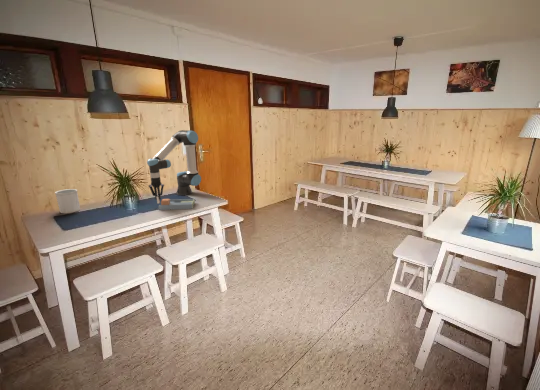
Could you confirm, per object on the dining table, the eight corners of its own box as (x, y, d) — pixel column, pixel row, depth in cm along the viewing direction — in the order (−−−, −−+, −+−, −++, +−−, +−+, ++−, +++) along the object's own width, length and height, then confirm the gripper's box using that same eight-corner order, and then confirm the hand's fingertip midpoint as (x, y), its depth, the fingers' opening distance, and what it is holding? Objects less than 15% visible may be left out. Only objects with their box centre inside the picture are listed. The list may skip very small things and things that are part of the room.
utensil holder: (71, 207, 230) (67, 188, 225) (85, 208, 227) (81, 189, 222) (55, 213, 216) (50, 192, 211) (69, 214, 213) (65, 193, 208)
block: (163, 203, 234) (162, 198, 233) (170, 202, 235) (169, 198, 234) (161, 205, 229) (160, 200, 228) (168, 205, 229) (167, 200, 228)
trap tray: (163, 204, 240) (163, 199, 239) (195, 203, 243) (194, 198, 242) (158, 209, 224) (158, 205, 223) (192, 208, 228) (191, 204, 227)
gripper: (146, 178, 220) (149, 204, 227) (162, 177, 221) (165, 204, 228) (148, 176, 227) (152, 202, 234) (164, 176, 228) (167, 201, 235)
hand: (158, 203), depth 231 cm, fingers closed
